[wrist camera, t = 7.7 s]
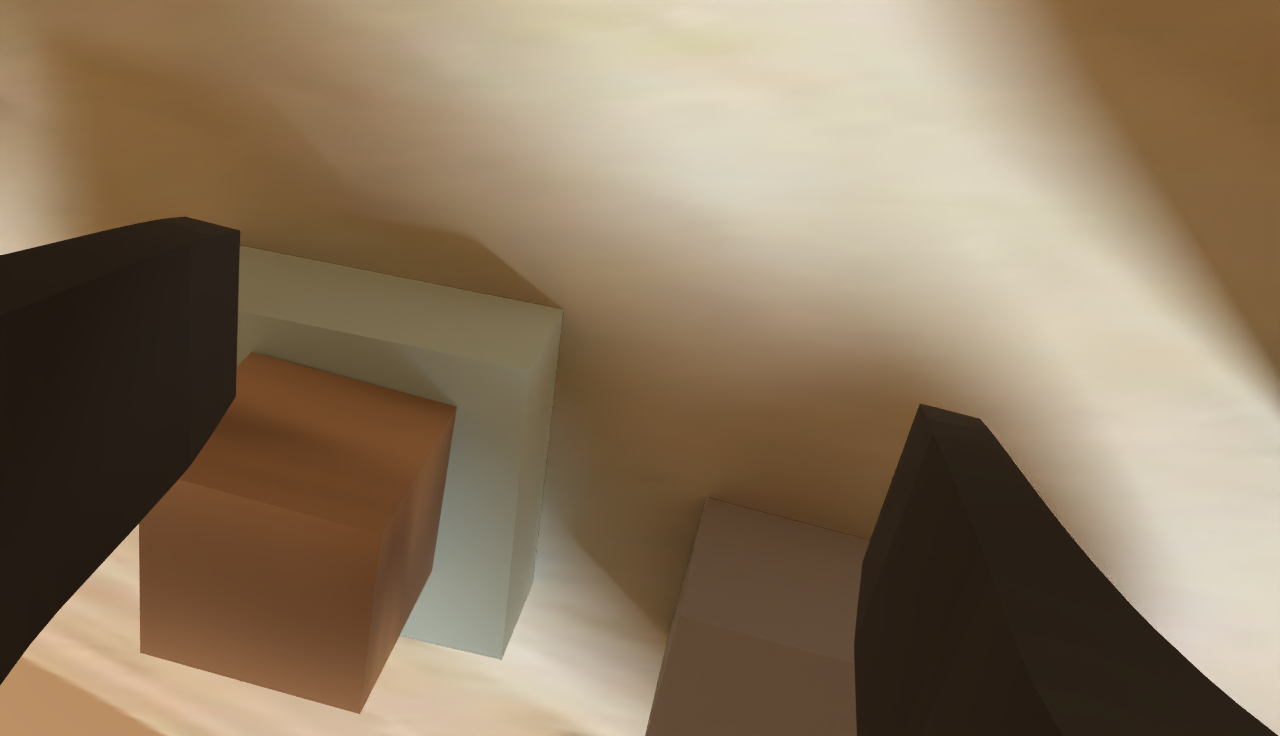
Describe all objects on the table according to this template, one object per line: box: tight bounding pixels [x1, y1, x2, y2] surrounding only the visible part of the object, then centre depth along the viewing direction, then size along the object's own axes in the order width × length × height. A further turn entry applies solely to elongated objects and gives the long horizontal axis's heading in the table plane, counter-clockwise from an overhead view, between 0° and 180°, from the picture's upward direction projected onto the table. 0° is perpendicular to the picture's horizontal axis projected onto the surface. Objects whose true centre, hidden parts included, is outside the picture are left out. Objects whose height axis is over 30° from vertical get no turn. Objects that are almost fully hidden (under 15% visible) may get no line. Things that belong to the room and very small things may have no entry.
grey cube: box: [645, 497, 870, 736], centre depth 24 cm, size 4×4×4 cm
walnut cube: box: [139, 352, 457, 714], centre depth 22 cm, size 4×4×4 cm
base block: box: [237, 245, 563, 660], centre depth 25 cm, size 7×7×3 cm
